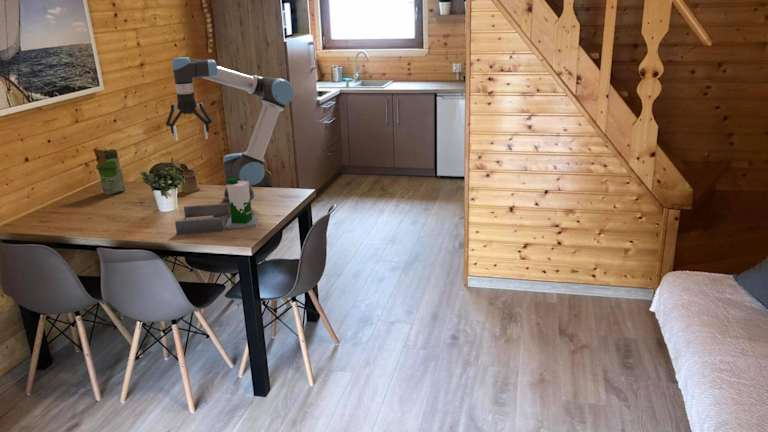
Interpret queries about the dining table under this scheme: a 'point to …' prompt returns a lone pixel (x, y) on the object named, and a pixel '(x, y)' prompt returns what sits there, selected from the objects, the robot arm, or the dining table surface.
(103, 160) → the pouch
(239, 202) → the soya milk
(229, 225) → the mat
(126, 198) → the dining table surface
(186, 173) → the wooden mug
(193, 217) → the offcut stack
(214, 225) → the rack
